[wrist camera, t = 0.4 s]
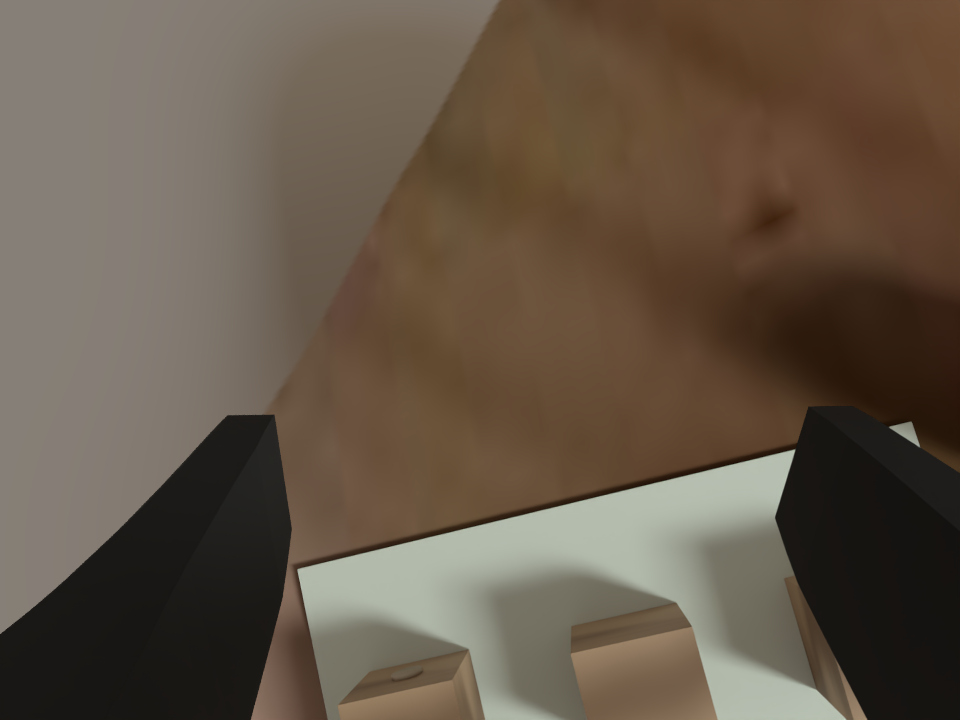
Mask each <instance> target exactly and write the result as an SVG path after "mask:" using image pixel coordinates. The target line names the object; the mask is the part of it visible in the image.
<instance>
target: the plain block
mask: <svg viewBox="0 0 960 720" xmlns="http://www.w3.org/2000/svg"><path fill="white" fill-rule="evenodd" d="M571 658H572V662H573V666H574V670H575V674H576V678H577V682H578V686H579V690H580V694H581V698H582V702H583V706H584V710H585V714H586V718H587V720H718V719H717V715H716V712H715V708H714V704H713V701H712V697H711V693H710V690H709V686H708V682H707V679H706V675H705V672H704V668H703V664H702V661H701V657H700V653H699V650H698V646H697V642H696V639H695V635H694V631H693V628H692V626H691V624H690V623H689V621H688V620H687V618H686V616H685V615H684V613H683V612H682V610H681V609H680V607H679V606H678V604H677V603H672V604H668V605H663V606H659V607H654V608H650V609H645V610H641V611H637V612H632V613H628V614H623V615H619V616H614V617H610V618H606V619H601V620H597V621H592V622H588V623H583V624H579V625H574V626H571Z"/></svg>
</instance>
